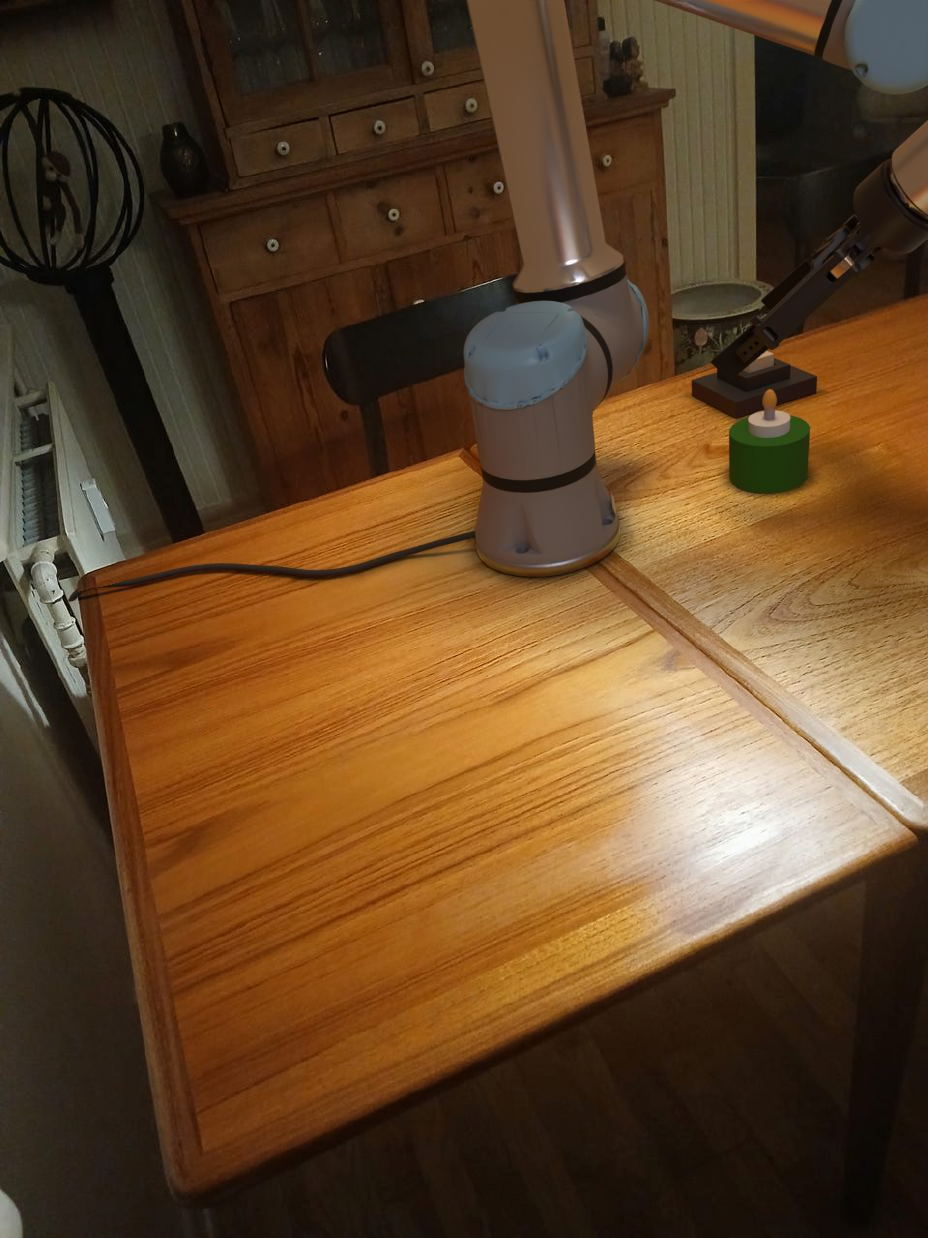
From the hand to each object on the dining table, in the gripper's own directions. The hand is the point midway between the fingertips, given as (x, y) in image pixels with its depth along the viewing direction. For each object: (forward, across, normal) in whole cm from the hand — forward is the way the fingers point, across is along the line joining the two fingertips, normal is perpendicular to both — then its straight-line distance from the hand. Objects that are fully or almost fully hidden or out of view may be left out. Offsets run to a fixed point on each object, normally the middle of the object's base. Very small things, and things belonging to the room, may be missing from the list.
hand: (746, 338), depth 98 cm
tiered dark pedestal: (+17, +19, -8) cm, 27 cm away
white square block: (+15, +19, -5) cm, 25 cm away
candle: (+8, -2, -13) cm, 16 cm away
